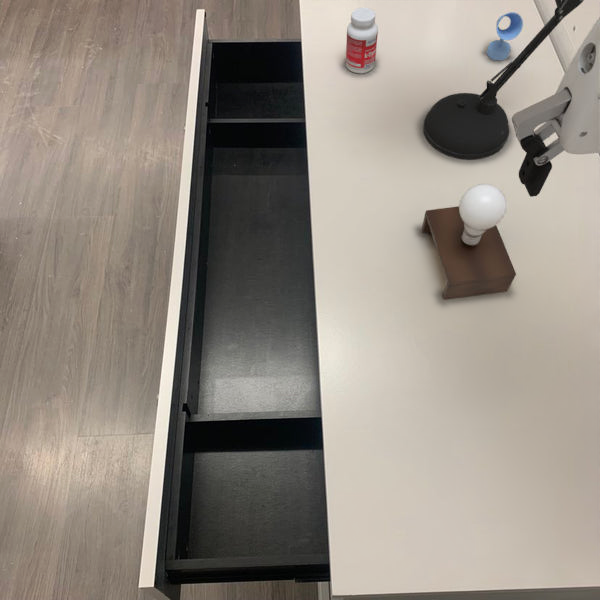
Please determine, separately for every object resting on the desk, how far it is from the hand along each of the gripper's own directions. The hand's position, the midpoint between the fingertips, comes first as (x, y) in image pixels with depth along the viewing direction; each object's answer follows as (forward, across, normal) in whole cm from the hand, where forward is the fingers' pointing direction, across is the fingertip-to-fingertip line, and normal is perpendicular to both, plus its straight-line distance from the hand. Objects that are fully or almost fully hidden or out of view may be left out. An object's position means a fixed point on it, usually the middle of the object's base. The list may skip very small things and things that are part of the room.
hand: (578, 179), depth 50 cm
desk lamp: (+32, +8, +43) cm, 54 cm away
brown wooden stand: (+32, 0, +14) cm, 35 cm away
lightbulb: (+28, 0, +14) cm, 31 cm away
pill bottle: (+32, -7, +66) cm, 74 cm away
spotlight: (+32, +22, +64) cm, 75 cm away
